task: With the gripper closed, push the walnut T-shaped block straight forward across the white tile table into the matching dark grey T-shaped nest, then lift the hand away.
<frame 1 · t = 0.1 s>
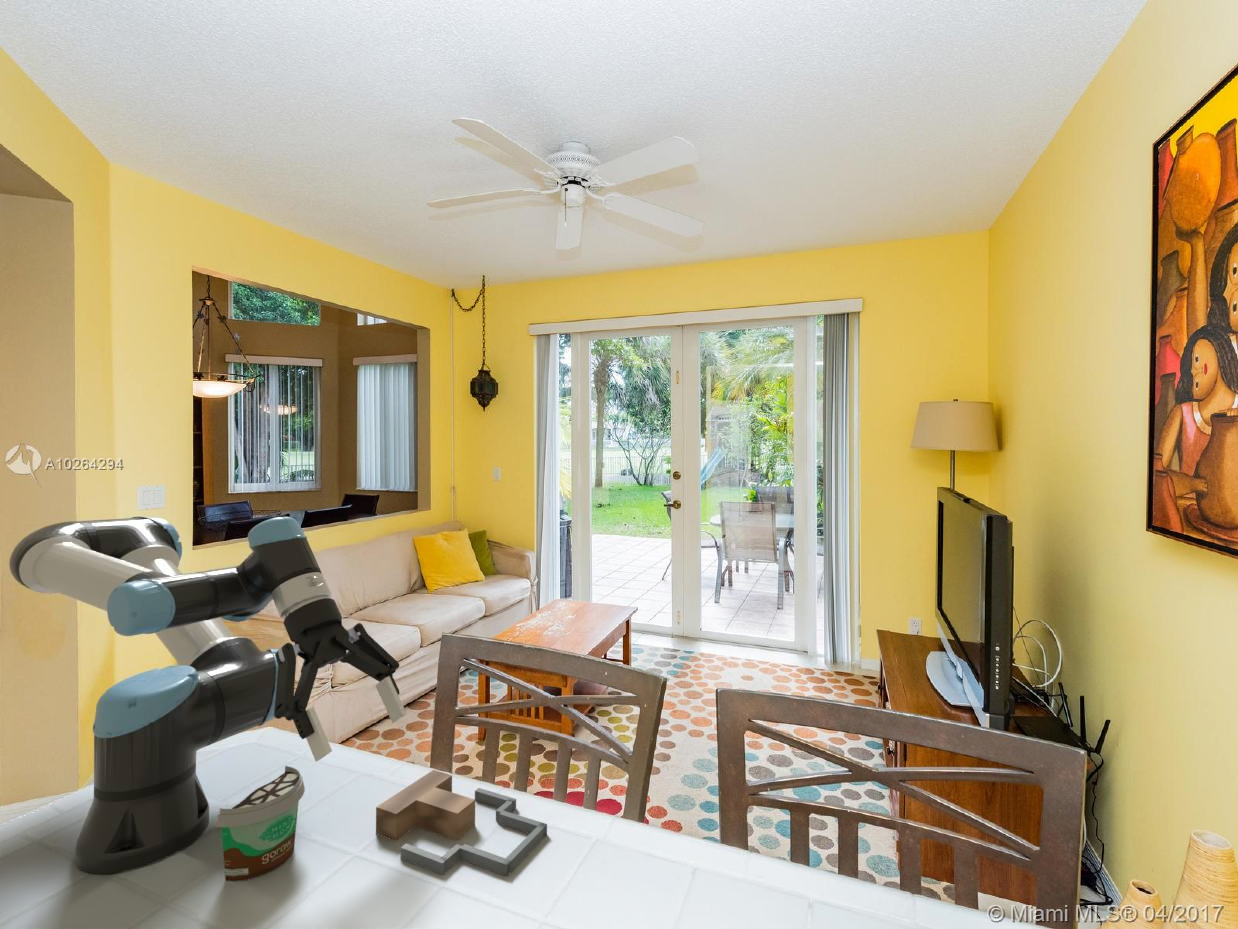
hand: (364, 736, 85), 15 cm above the table, tool tilted 35°, fingers open, 13 cm apart
t block: (415, 816, 92), on the table
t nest: (461, 831, 88), on the table
food container: (273, 862, 81), on the table
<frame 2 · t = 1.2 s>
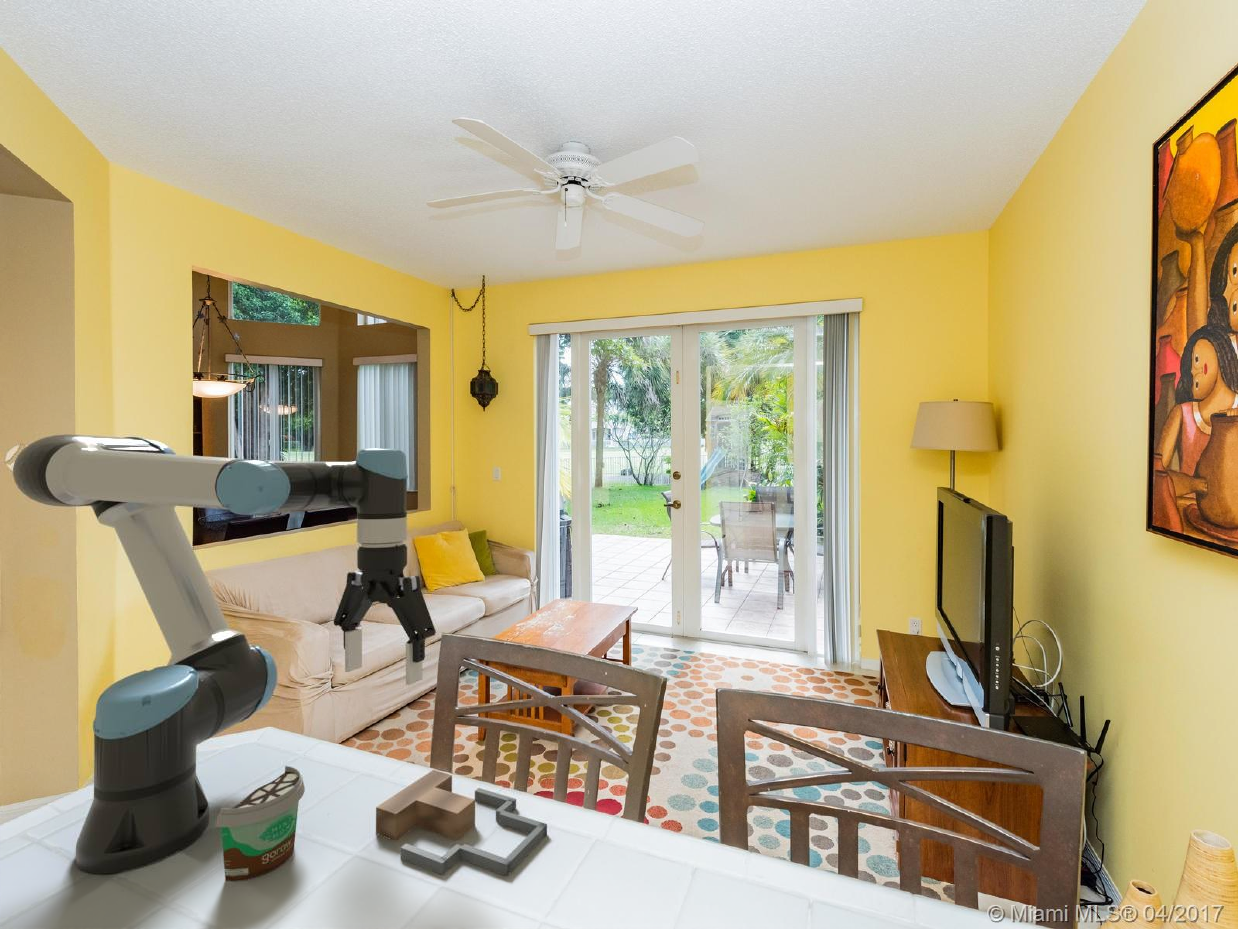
hand: (382, 675, 94), 21 cm above the table, tool pointing down, fingers open, 13 cm apart
nothing on the table moved.
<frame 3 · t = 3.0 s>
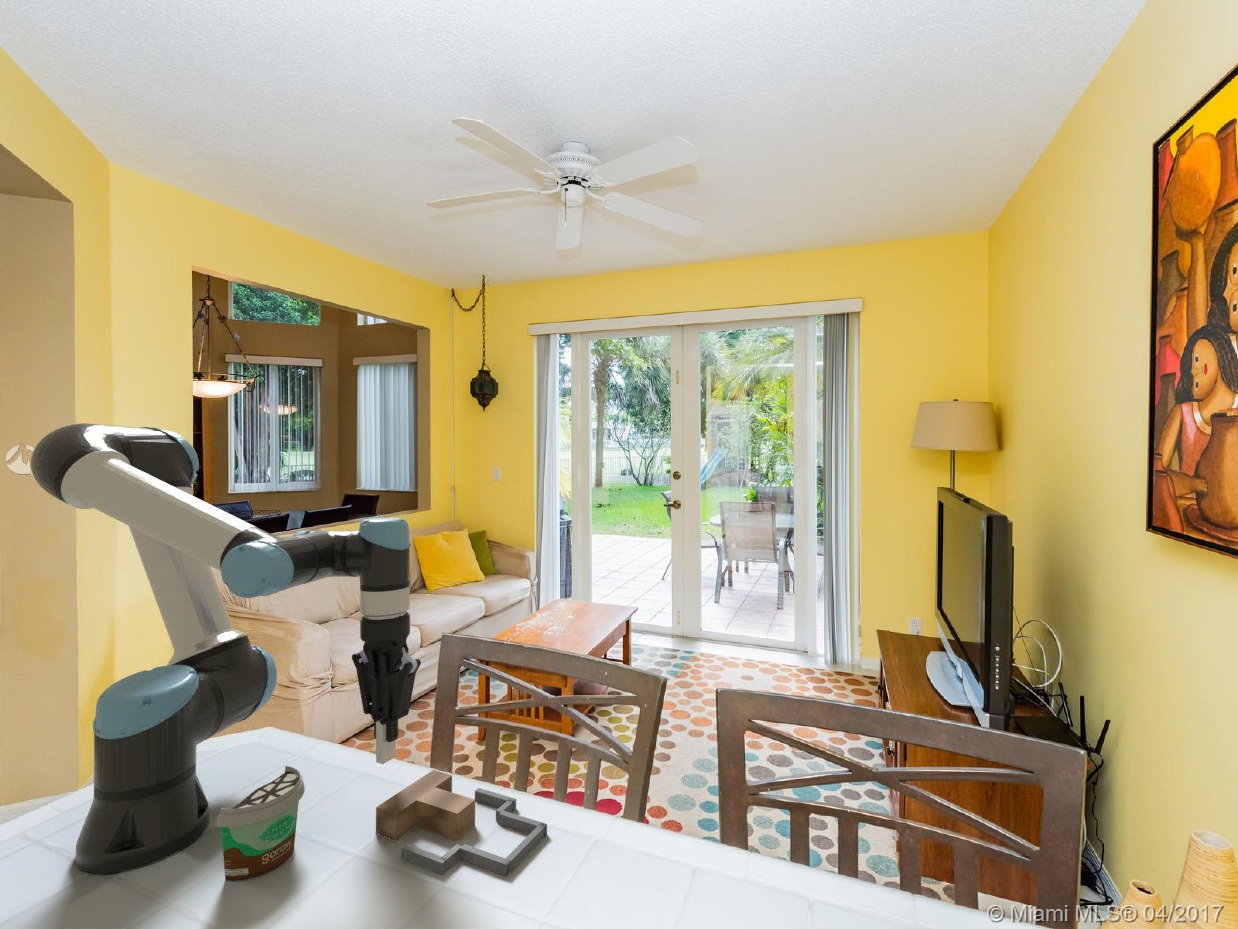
hand: (386, 759, 95), 7 cm above the table, tool pointing down, fingers closed
nothing on the table moved.
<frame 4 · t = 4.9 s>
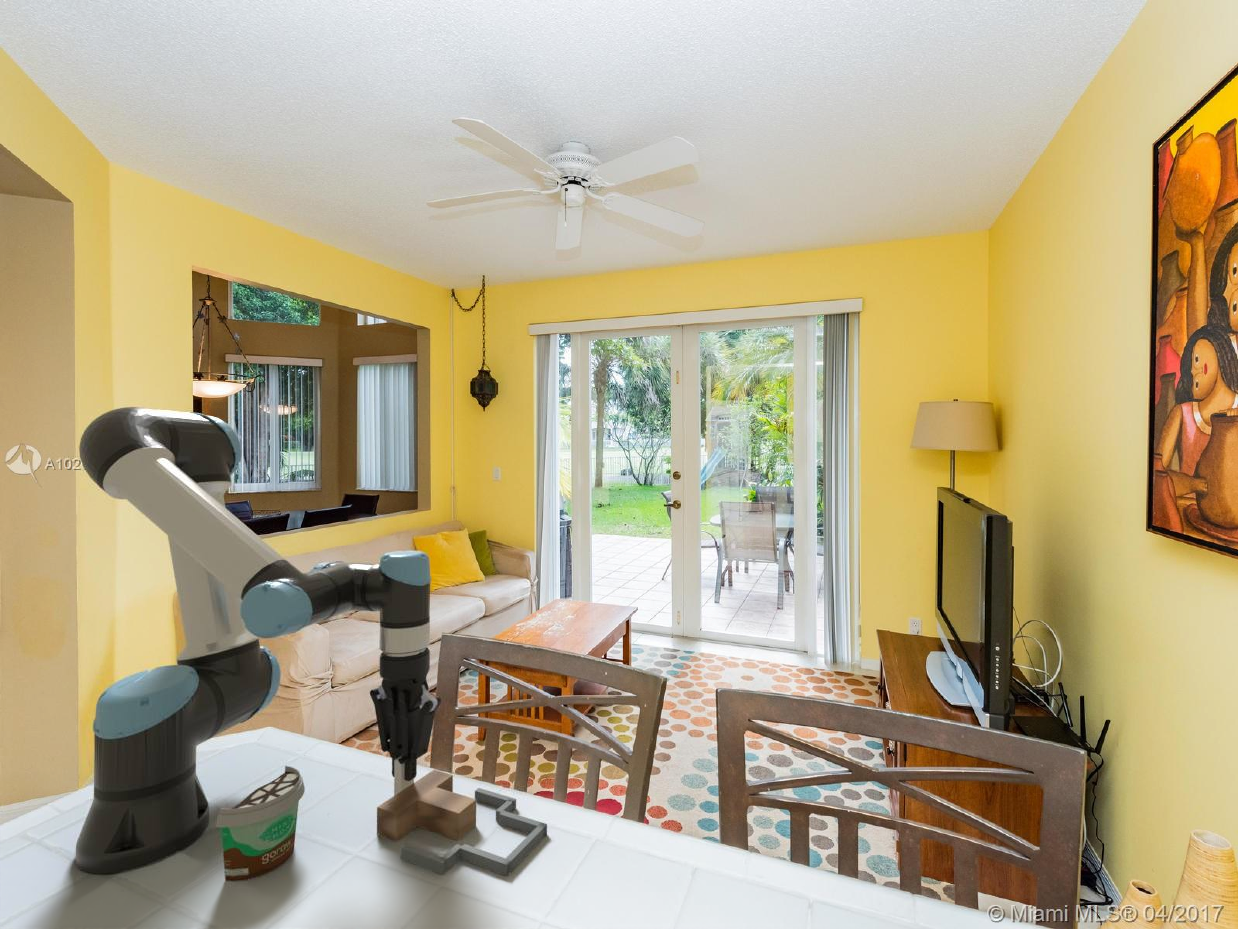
hand: (404, 798, 93), 2 cm above the table, tool pointing down, fingers closed
t block: (416, 816, 92), on the table, touching gripper
everything else where it was.
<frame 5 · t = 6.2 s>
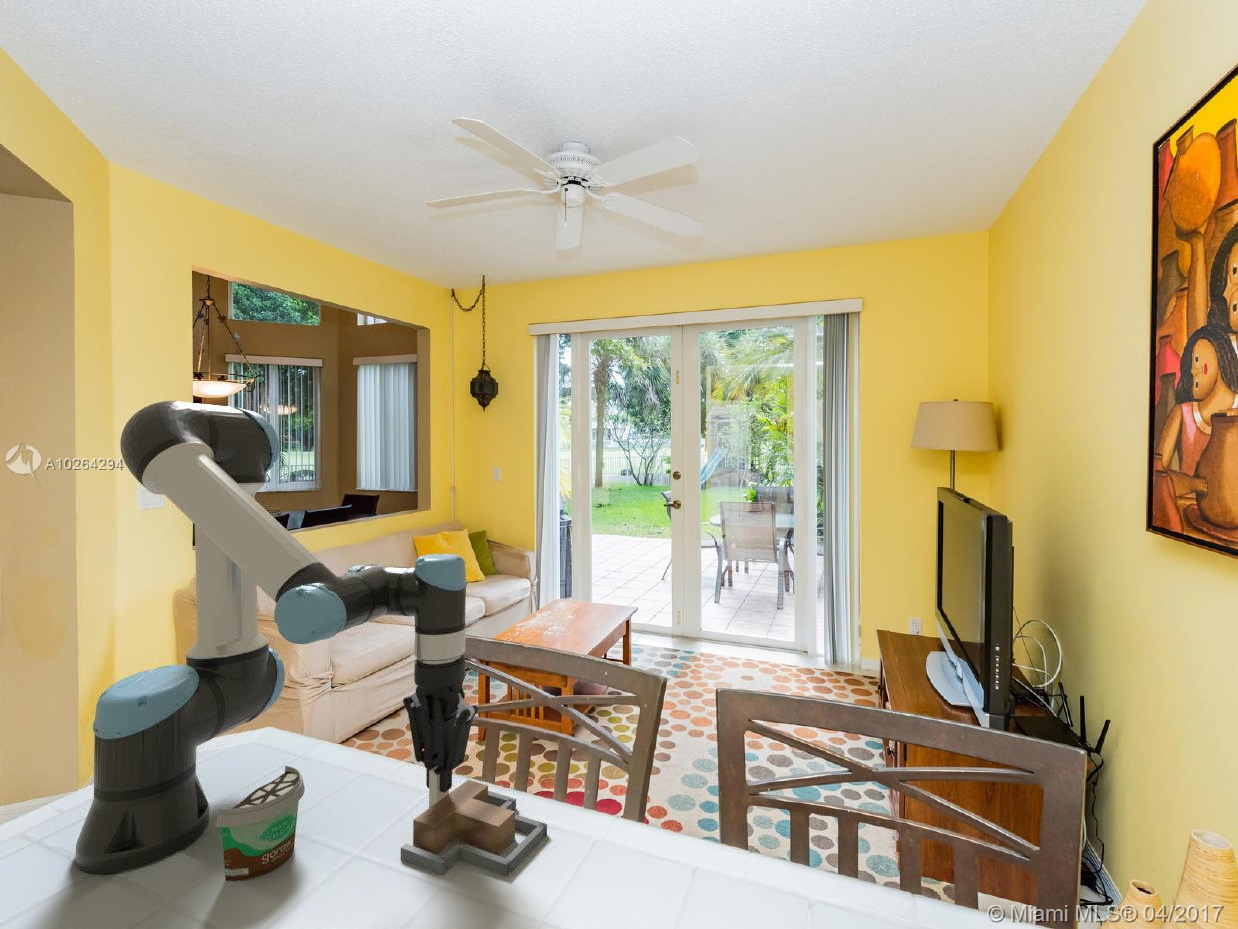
hand: (438, 810, 90), 2 cm above the table, tool pointing down, fingers closed
t block: (452, 828, 89), on the table
everything else where it was.
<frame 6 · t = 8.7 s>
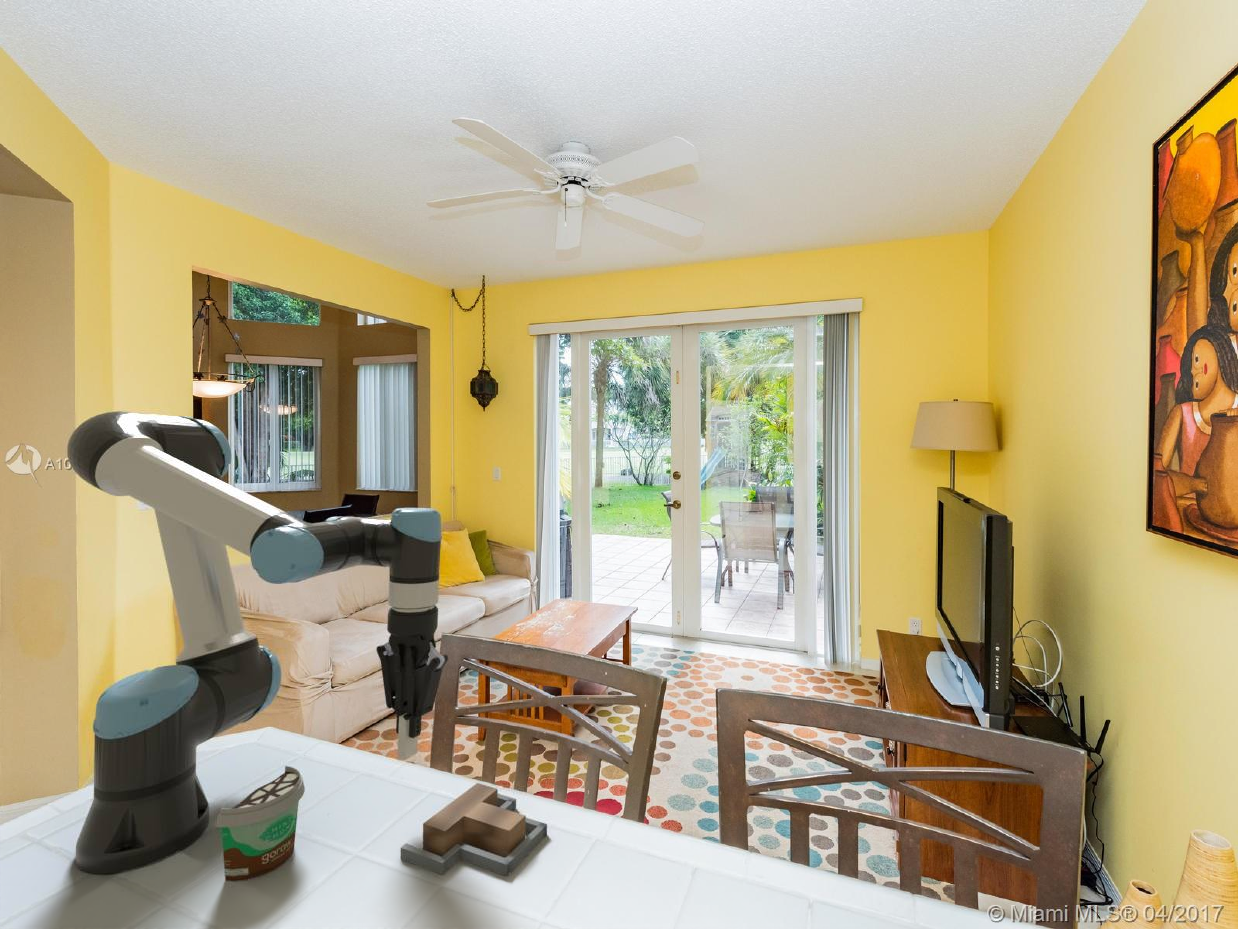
hand: (407, 755, 92), 9 cm above the table, tool pointing down, fingers closed
t block: (462, 832, 88), on the table
everything else where it was.
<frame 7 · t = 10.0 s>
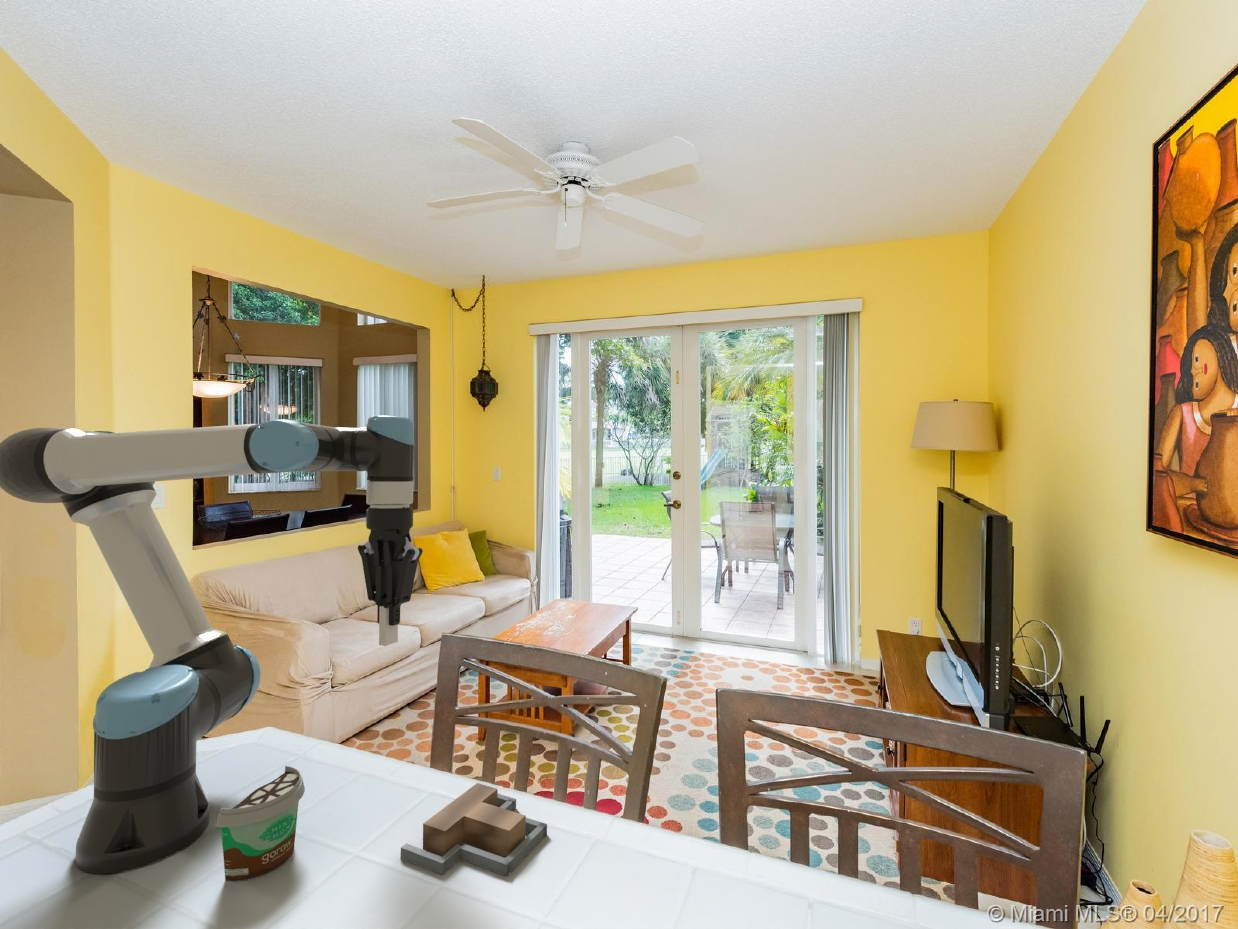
hand: (388, 643, 100), 24 cm above the table, tool pointing down, fingers closed
nothing on the table moved.
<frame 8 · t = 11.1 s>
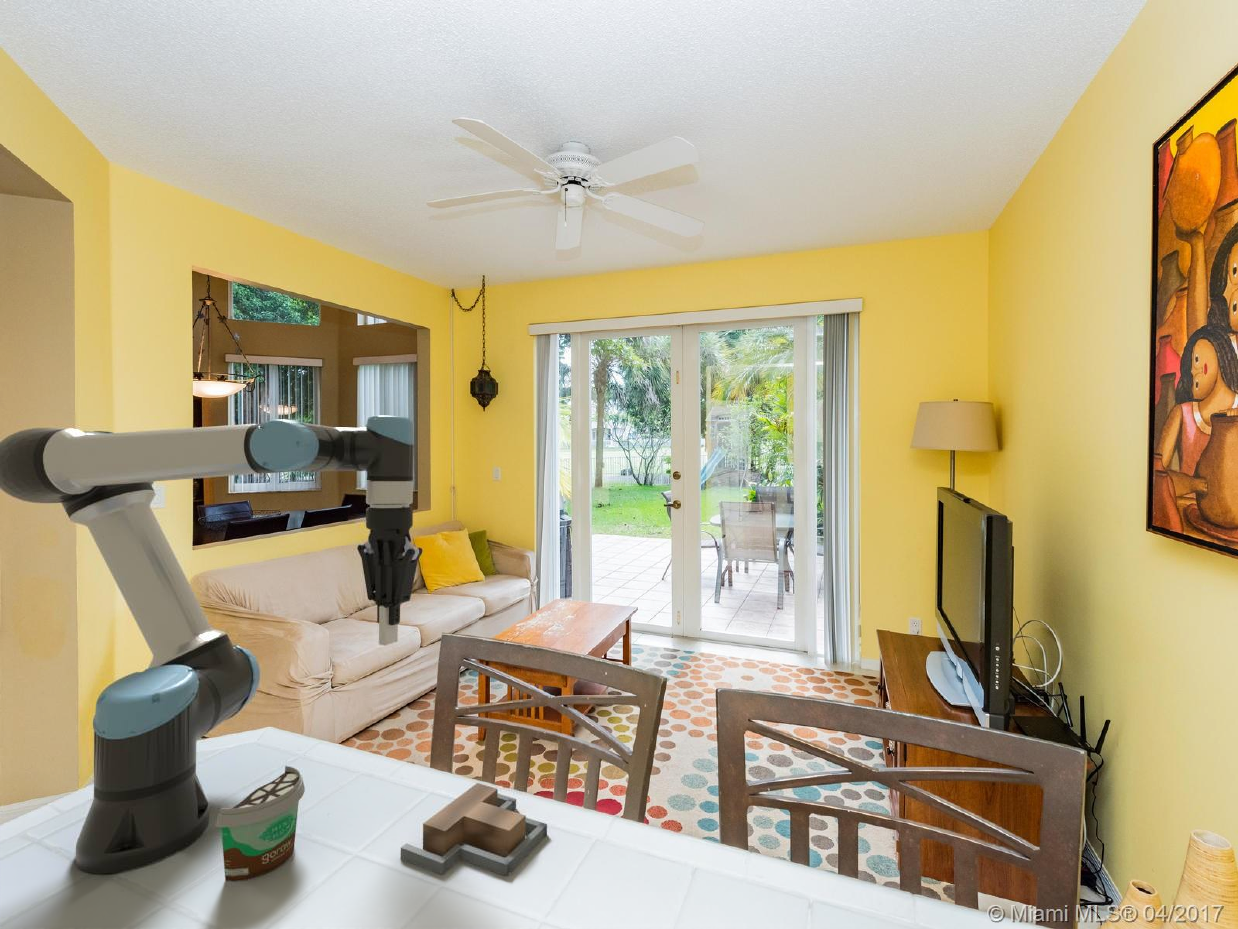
hand: (388, 642, 101), 24 cm above the table, tool pointing down, fingers closed
nothing on the table moved.
at the end: t block 0.2 cm from the target spot, on the table; t block tilted 0° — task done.
